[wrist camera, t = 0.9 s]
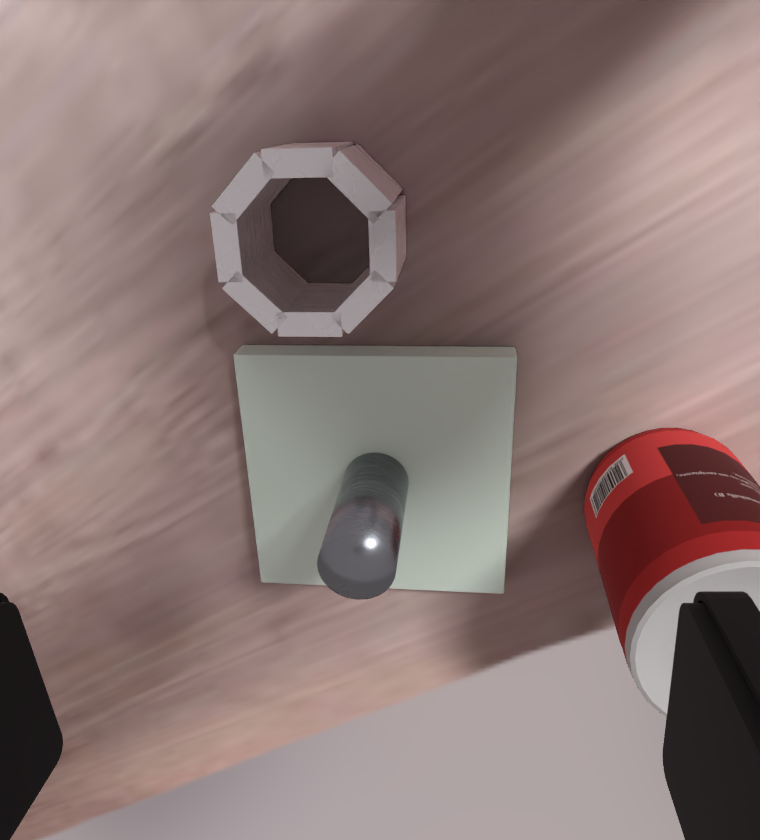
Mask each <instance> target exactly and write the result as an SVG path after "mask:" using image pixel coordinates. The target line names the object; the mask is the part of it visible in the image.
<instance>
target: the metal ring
mask: <svg viewBox="0 0 760 840" xmlns="http://www.w3.org/2000/svg"><path fill="white" fill-rule="evenodd" d="M318 177H327V178H328V179H329V180H330V181H331V182H332V183H333V184H334V185H335V186H336V187H337V188H338V189H339V190H340V191H341V192H342V193H343V194H344V195H345V196H346V197H347V198H348V199H349V200H350V201H351V202H352V203H353V204H354V205H355V206H356V207H357V208H358V209H359V210H360V211H361V212H362V213H363V214H364V215H365V216H366V217H367V218H368V229H369V258H370V265H369V267H368V268H367V269H366V270H365V271H364V272H363V273H362V274H361V275H360V276H359V277H358V278H357V279H356V280H355V281H354V282H353V283H308V282H307V281H306V280H305V279H303V278H302V277H301V276H300V275H299V274H298V273H297V272H296V271H295V270H294V269H293V268H292V267H291V266H290V265H289V264H288V263H286V262H285V261H284V260H283V259H282V258H281V257H280V256H279V255H278V254H277V253H276V252H275V251H274V240H273V229H272V218H271V207H270V204H271V202H272V201H273V200H274V199H275V198H276V196H277V195H278V194H279V193H280V192H281V190H282V189H283V188H284V187H285V186H286V184H287V183H288V182H289V181H290V180H291V178H318ZM402 190H403V189H402V188H401V187H400V186H399V185H398V184H397V182H396V181H395V180H394V179H393V178H392V177H391V176H390V175H389V174H388V173H387V172H386V171H385V170H384V169H383V168H382V167H381V166H380V165H379V164H378V163H377V162H376V161H375V160H374V159H373V158H372V157H371V156H370V155H369V154H368V153H367V152H366V151H365V150H364V149H363V148H362V147H361V146H360V145H359V144H357V145H354V146H353V141H352V142H314V143H290V144H285V145H280V146H275V147H270V148H264V149H261V151H259V152H254V153H253V155H252V156H251V157H250V159H249V160H248V161H247V162H246V164H245V165H244V166H243V167H242V169H241V170H240V171H239V172H238V174H237V175H236V176H235V177H234V179H233V180H232V181H231V182H230V184H229V185H228V186H227V188H226V189H225V190H224V191H223V193H222V194H221V195H220V196H219V198H218V199H217V200H216V201H215V203H214V204H213V205H212V207H213V208H214V209H215V210H216V211H215V212H212V213H210V220H211V228H212V236H213V244H214V252H215V259H216V267H217V275H218V282H227V283H226V284H225V286H224V287H223V288H222V289H223V290H224V291H225V292H226V293H227V294H228V295H229V296H230V297H232V298H233V299H234V300H235V301H236V302H237V303H238V304H239V305H240V306H241V307H243V308H244V309H245V310H246V311H247V312H248V313H249V314H250V315H251V316H253V317H254V318H255V319H256V320H257V321H258V322H259V323H260V324H261V325H262V326H264V327H265V328H266V329H267V330H268V331H269V332H270V333H271V334H272V333H273V332H274V331H275V330H276V329H277V328H278V337H342V336H343V335H344V333H345V332H346V333H347V334H349V333H350V332H351V331H352V330H353V329H354V328H355V327H356V326H357V325H358V324H359V323H360V322H361V321H362V320H363V319H364V318H365V317H366V316H367V315H368V314H369V313H370V312H371V311H372V310H373V309H374V308H375V307H376V306H377V305H378V304H379V303H380V302H381V301H382V300H383V299H384V298H385V297H386V296H387V295H388V294H389V293H390V292H391V291H392V290H393V289H394V286H395V284H396V281H397V279H398V276H399V274H400V271H401V268H402V266H403V263H404V261H405V258H406V196H405V195H399V194H400V192H401V191H402Z"/></svg>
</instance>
